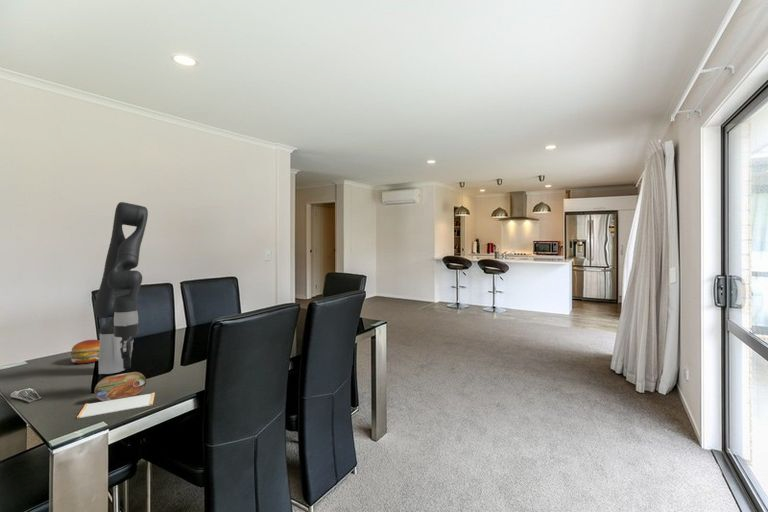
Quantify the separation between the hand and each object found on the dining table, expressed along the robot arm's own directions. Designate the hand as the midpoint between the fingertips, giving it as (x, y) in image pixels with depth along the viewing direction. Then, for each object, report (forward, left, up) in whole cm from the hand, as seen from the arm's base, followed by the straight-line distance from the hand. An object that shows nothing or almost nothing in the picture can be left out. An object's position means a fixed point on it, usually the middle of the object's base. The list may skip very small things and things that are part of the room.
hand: (127, 368), depth 134 cm
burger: (-21, +52, -9) cm, 57 cm away
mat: (-1, -15, -8) cm, 17 cm away
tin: (-1, -7, -9) cm, 11 cm away
